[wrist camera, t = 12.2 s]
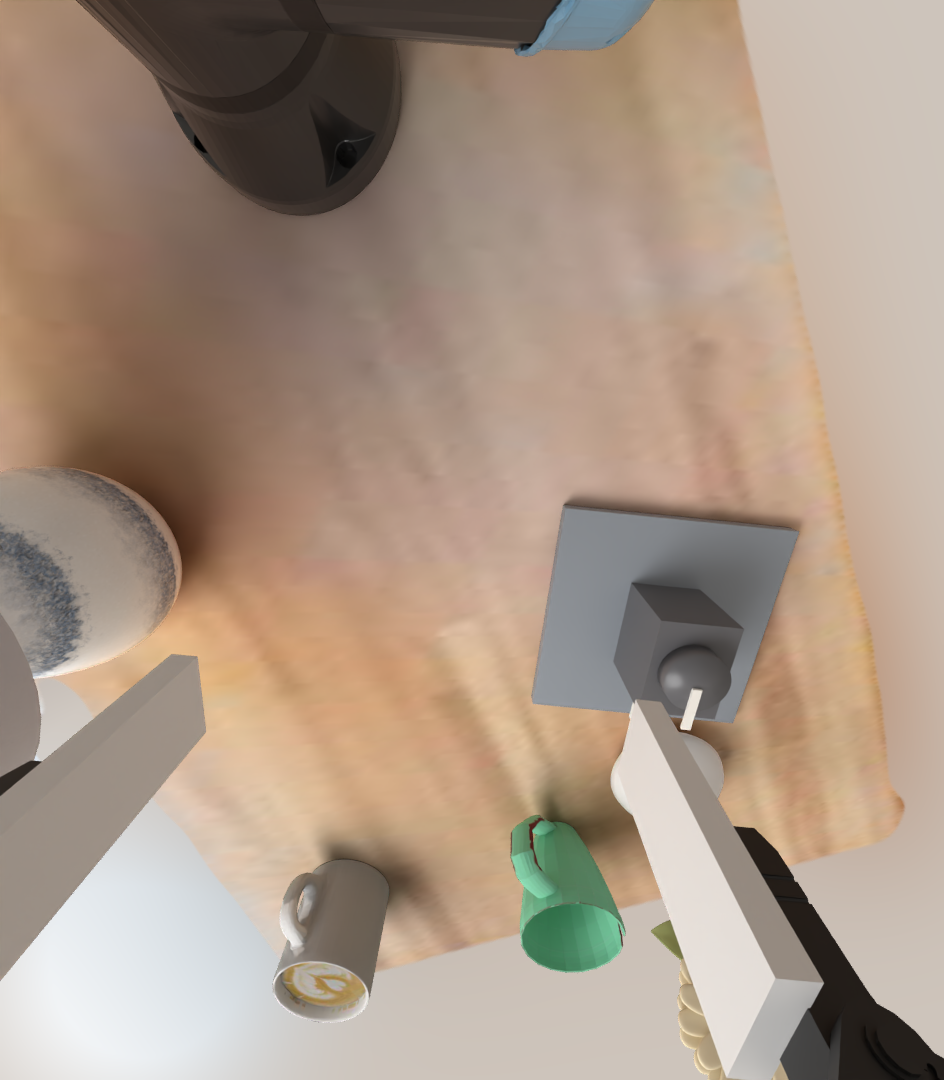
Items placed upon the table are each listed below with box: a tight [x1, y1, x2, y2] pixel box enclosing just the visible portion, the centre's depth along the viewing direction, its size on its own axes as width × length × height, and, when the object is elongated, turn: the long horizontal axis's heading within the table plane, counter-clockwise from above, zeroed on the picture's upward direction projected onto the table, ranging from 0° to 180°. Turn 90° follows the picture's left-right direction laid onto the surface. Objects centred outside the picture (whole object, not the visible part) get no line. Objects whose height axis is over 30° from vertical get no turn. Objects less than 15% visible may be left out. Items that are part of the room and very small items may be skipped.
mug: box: [511, 815, 625, 973], centre depth 45 cm, size 15×10×10 cm
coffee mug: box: [272, 859, 389, 1023], centre depth 49 cm, size 13×10×10 cm
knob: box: [613, 583, 744, 730], centre depth 36 cm, size 8×6×9 cm
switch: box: [532, 505, 799, 723], centre depth 39 cm, size 20×20×6 cm
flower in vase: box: [611, 732, 789, 1080], centre depth 35 cm, size 13×11×25 cm
